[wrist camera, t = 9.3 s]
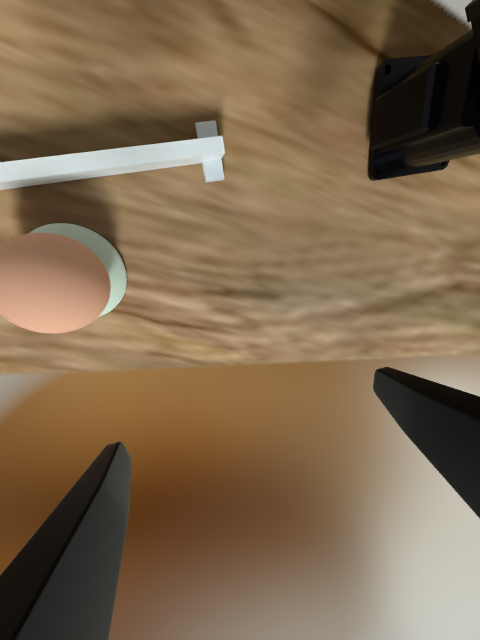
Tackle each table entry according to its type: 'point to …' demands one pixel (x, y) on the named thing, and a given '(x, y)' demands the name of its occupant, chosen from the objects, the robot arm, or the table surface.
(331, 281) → the table surface
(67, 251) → the ball
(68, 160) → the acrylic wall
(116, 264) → the felt coaster
